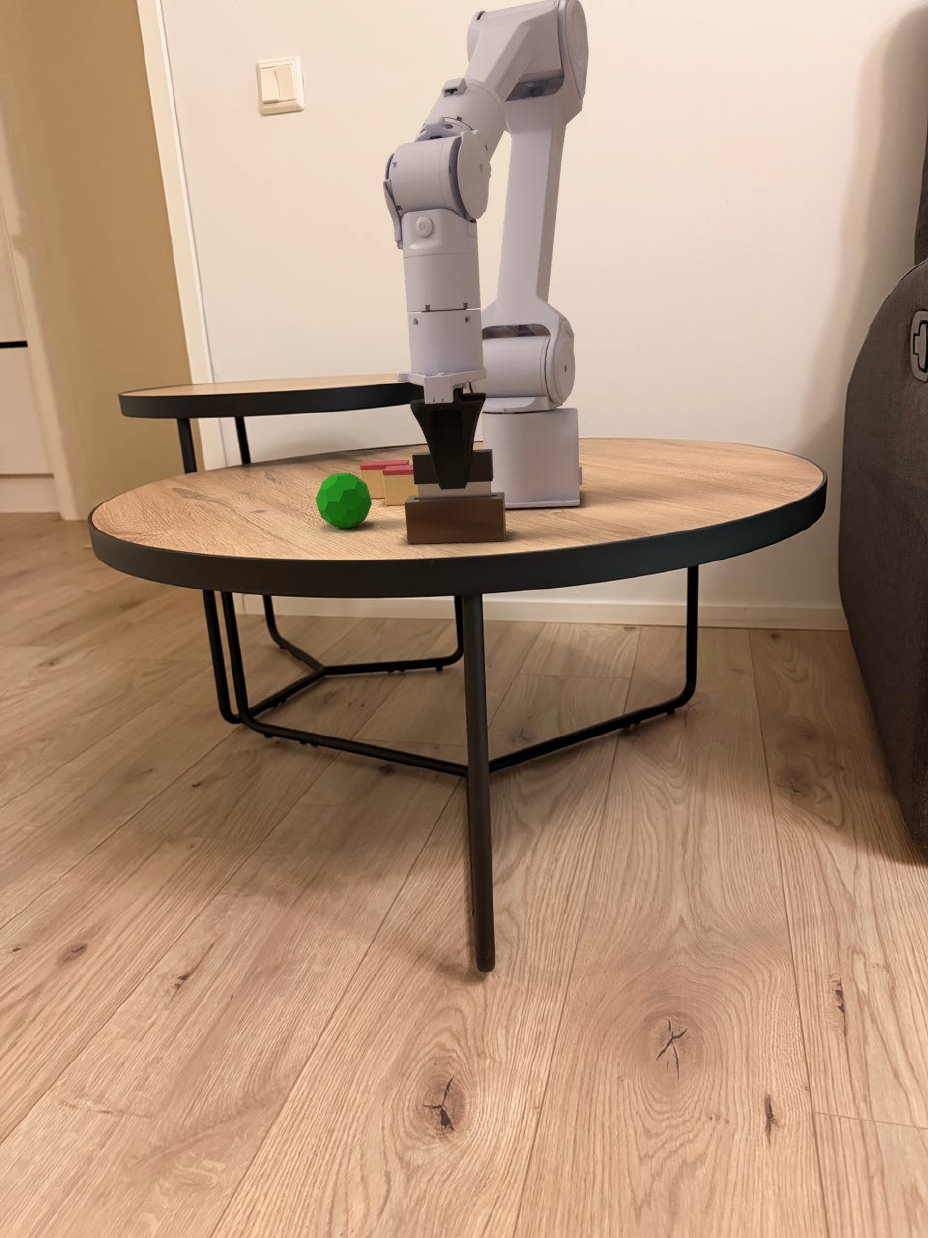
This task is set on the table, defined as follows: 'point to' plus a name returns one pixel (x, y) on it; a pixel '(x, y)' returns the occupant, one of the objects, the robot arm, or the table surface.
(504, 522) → the knife block
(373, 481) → the cake slice
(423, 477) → the beige and brown block
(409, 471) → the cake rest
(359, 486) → the polyhedron
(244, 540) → the table surface
